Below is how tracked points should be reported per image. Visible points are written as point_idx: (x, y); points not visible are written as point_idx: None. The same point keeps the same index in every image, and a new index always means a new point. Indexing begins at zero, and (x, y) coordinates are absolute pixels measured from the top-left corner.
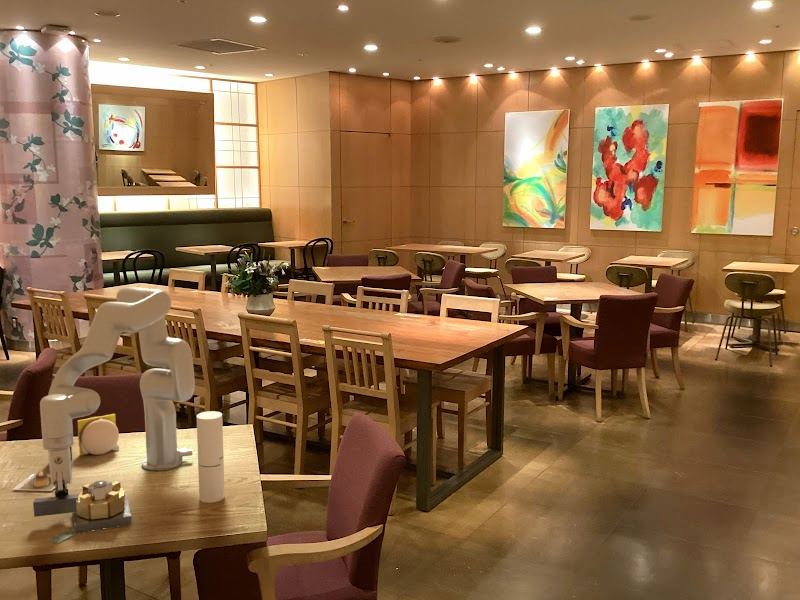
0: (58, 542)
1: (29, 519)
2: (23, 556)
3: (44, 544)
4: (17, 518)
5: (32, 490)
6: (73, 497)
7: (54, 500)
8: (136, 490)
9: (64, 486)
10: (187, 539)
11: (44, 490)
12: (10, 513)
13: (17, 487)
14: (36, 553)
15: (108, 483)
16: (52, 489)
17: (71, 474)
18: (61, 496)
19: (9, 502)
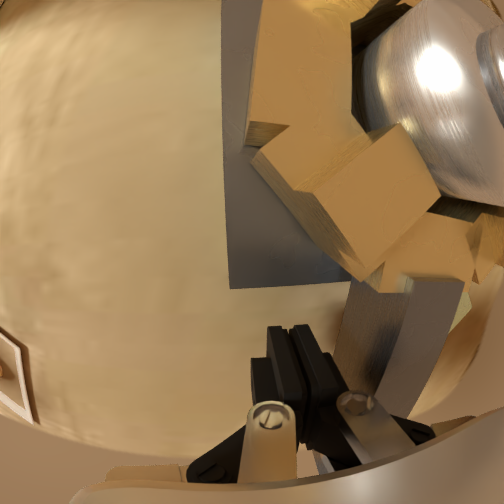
0: (470, 303)
1: (241, 418)
2: (467, 369)
3: (451, 340)
4: (218, 441)
5: (26, 391)
6: (445, 318)
7: (407, 415)
8: (90, 6)
9: (419, 437)
10: (494, 9)
11: (22, 366)
12: (172, 451)
13: (19, 411)
14: (474, 346)
15: (478, 13)
16: (13, 344)
17: (493, 483)
18: (381, 399)
19: (95, 442)
